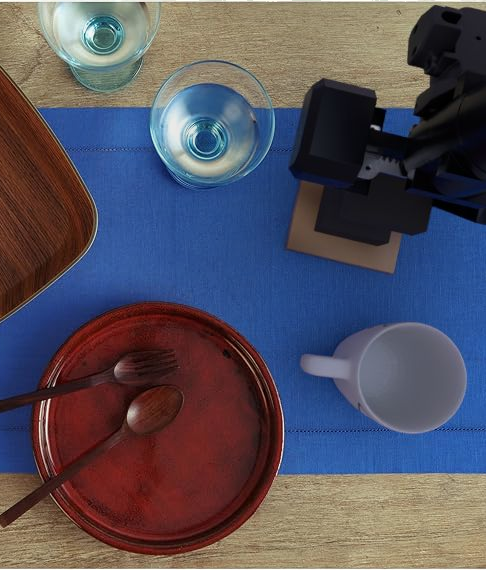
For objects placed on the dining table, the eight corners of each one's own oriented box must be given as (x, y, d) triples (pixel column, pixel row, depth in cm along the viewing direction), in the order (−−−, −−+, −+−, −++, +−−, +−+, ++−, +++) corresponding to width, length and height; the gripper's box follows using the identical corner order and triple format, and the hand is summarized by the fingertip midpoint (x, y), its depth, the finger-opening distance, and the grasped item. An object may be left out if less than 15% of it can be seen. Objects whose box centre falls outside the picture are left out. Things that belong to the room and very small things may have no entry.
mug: (280, 404, 56) (311, 424, 46) (289, 312, 57) (322, 311, 47) (405, 418, 56) (463, 440, 46) (413, 325, 57) (472, 327, 47)
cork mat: (307, 145, 57) (310, 141, 56) (412, 170, 57) (417, 167, 56) (284, 249, 57) (286, 248, 56) (389, 274, 57) (394, 274, 56)
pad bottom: (328, 167, 56) (336, 160, 54) (391, 182, 56) (403, 176, 54) (313, 231, 56) (321, 227, 53) (377, 246, 56) (389, 243, 53)
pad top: (354, 145, 49) (366, 136, 47) (427, 163, 49) (443, 154, 47) (338, 218, 49) (349, 213, 46) (412, 235, 49) (426, 231, 46)
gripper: (711, 21, 33) (526, 116, 48) (370, -62, 33) (294, 60, 48) (671, 224, 32) (497, 254, 48) (324, 140, 32) (263, 197, 48)
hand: (388, 187), depth 48 cm, fingers closed on pad top, 6 cm apart
